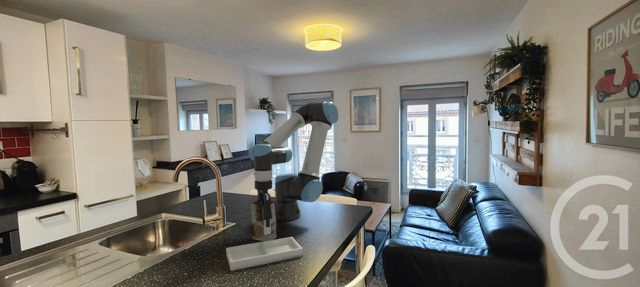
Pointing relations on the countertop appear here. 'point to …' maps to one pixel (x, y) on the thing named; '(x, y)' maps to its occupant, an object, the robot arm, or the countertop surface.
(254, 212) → the coffee box
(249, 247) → the cell crate
